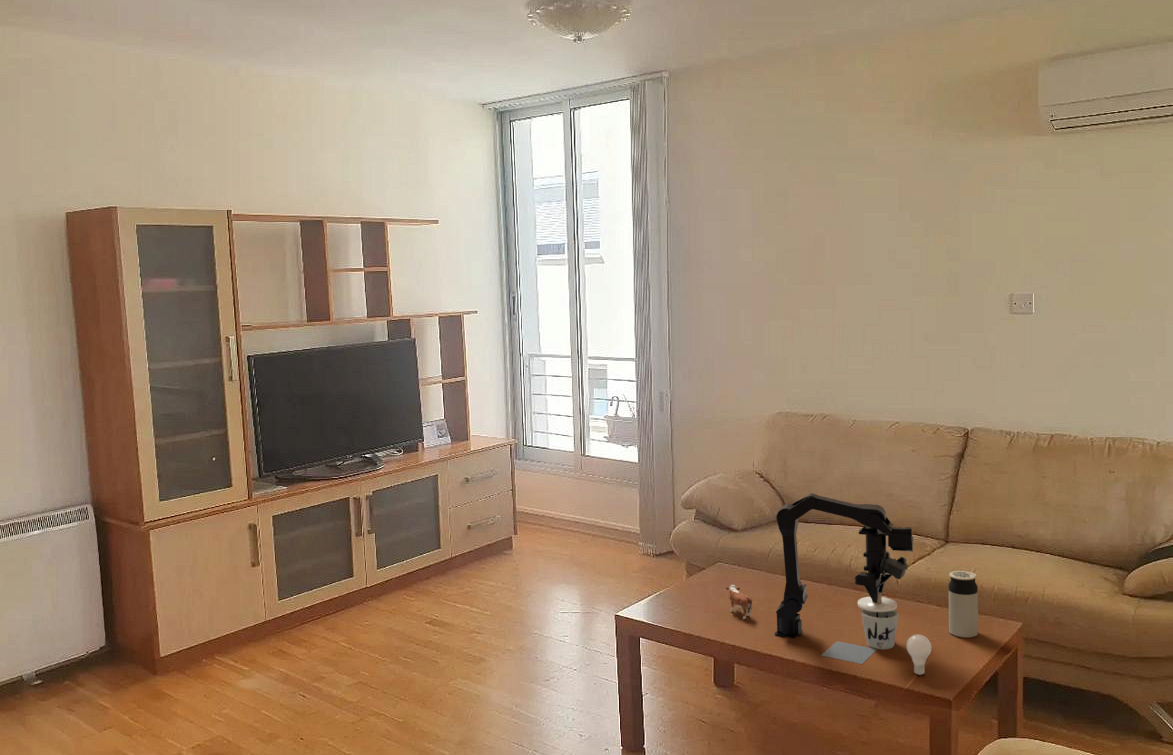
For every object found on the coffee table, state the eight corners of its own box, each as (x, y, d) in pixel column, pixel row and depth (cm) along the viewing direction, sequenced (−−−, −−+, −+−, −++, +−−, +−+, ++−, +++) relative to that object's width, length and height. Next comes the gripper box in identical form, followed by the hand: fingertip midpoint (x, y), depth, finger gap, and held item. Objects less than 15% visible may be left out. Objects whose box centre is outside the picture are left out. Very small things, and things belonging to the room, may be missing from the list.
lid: (851, 608, 268) (851, 595, 267) (865, 596, 277) (865, 584, 276) (889, 614, 261) (889, 601, 261) (902, 603, 270) (902, 590, 269)
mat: (821, 656, 262) (821, 655, 262) (837, 642, 271) (837, 641, 271) (862, 665, 255) (862, 664, 255) (877, 650, 264) (877, 649, 264)
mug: (862, 651, 264) (861, 617, 263) (860, 631, 279) (859, 599, 278) (900, 653, 262) (900, 619, 261) (896, 633, 276) (895, 601, 275)
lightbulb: (906, 678, 245) (905, 638, 244) (907, 668, 251) (906, 629, 250) (931, 680, 243) (931, 640, 242) (931, 671, 249) (931, 631, 248)
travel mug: (954, 638, 270) (954, 579, 268) (945, 628, 278) (944, 570, 276) (982, 637, 269) (981, 578, 268) (971, 627, 277) (971, 569, 276)
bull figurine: (735, 606, 306) (734, 582, 305) (755, 619, 293) (754, 594, 292) (723, 608, 304) (723, 584, 304) (743, 621, 292) (742, 596, 291)
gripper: (892, 561, 255) (893, 616, 257) (914, 544, 270) (915, 596, 271) (853, 556, 262) (854, 609, 263) (877, 539, 276) (877, 590, 278)
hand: (876, 601), depth 269 cm, fingers closed on lid, 3 cm apart
